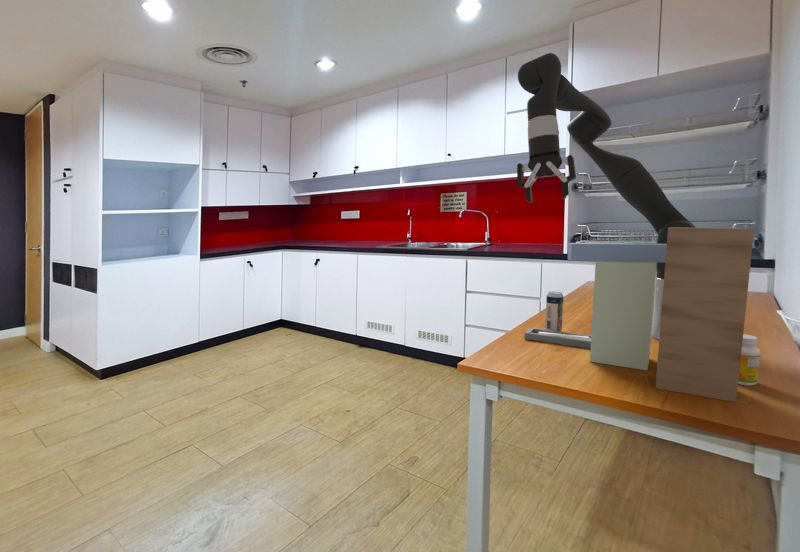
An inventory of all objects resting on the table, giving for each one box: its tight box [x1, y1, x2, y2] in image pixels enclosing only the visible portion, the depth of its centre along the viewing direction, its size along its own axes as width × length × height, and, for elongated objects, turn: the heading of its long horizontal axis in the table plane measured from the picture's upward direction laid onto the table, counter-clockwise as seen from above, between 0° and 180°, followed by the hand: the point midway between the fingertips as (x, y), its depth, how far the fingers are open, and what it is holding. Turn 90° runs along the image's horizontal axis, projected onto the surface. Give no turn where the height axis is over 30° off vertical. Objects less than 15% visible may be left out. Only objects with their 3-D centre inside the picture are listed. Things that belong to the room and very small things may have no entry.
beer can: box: [544, 291, 564, 332], centre depth 132 cm, size 5×5×12 cm
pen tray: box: [524, 327, 591, 350], centre depth 122 cm, size 7×22×2 cm, turn 58°
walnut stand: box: [655, 227, 755, 403], centre depth 87 cm, size 8×13×32 cm, turn 58°
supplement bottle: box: [738, 333, 761, 386], centre depth 92 cm, size 5×5×10 cm
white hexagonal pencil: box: [538, 332, 591, 341], centre depth 123 cm, size 3×2×16 cm
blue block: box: [567, 242, 667, 262], centre depth 103 cm, size 4×24×4 cm, turn 80°
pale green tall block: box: [589, 261, 657, 371], centre depth 105 cm, size 10×12×24 cm
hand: (547, 200), depth 114 cm, fingers open, 8 cm apart
